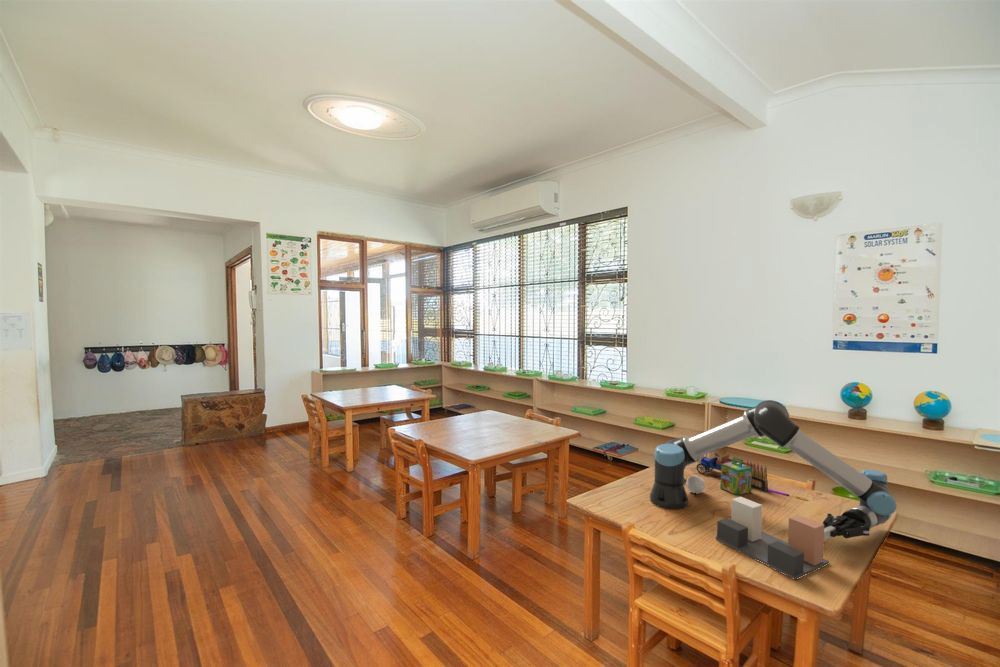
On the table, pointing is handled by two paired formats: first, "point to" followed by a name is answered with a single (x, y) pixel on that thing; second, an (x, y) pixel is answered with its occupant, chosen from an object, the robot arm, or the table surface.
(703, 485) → the geometric ball
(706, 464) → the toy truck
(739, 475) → the chalk box
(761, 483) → the ammunition clip
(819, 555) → the terracotta key
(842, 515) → the robot arm
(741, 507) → the off-white key
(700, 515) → the table surface
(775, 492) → the yellow handled tool
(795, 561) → the key console
